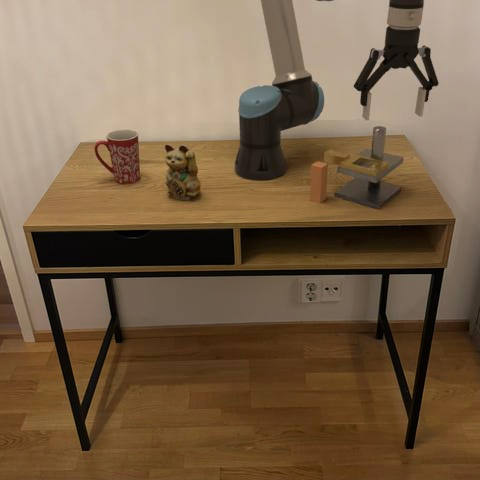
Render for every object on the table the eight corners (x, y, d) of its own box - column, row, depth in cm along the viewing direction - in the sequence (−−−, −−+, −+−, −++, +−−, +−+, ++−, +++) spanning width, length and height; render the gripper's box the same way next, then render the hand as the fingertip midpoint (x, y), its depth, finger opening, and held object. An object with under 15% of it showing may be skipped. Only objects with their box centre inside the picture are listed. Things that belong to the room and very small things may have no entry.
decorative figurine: (162, 199, 158) (157, 146, 150) (173, 186, 164) (169, 135, 157) (196, 203, 155) (193, 149, 148) (206, 189, 162) (203, 138, 154)
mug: (144, 171, 174) (139, 127, 167) (142, 184, 166) (137, 139, 159) (101, 173, 173) (94, 130, 167) (97, 187, 166) (90, 141, 159)
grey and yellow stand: (317, 193, 158) (320, 132, 149) (346, 174, 168) (350, 115, 160) (376, 211, 149) (383, 146, 140) (403, 189, 159) (411, 128, 150)
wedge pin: (310, 200, 155) (311, 165, 150) (316, 196, 157) (317, 161, 152) (319, 203, 153) (321, 167, 148) (325, 199, 155) (327, 163, 150)
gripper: (355, 32, 129) (347, 125, 140) (463, 27, 132) (447, 118, 143) (345, 25, 135) (338, 114, 146) (448, 20, 138) (433, 108, 149)
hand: (392, 116), depth 144 cm, fingers open, 13 cm apart
